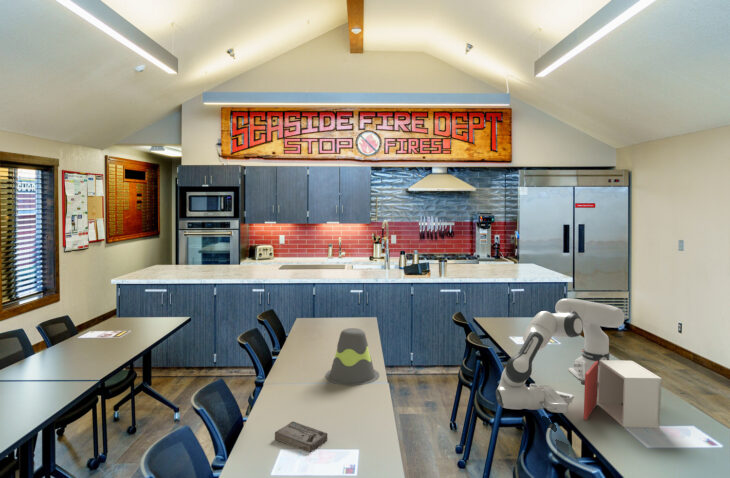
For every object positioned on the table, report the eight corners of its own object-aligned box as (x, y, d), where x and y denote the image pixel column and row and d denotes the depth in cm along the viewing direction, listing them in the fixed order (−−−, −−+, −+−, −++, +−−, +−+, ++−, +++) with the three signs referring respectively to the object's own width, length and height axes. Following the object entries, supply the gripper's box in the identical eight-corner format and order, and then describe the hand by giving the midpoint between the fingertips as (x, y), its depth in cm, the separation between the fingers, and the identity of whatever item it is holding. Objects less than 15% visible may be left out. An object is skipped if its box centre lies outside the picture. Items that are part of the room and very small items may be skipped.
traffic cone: (390, 378, 241) (390, 331, 239) (343, 389, 225) (343, 340, 223) (360, 363, 263) (360, 321, 262) (315, 373, 248) (315, 328, 246)
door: (590, 401, 210) (592, 360, 209) (596, 403, 209) (598, 361, 208) (579, 418, 194) (580, 372, 192) (586, 419, 192) (587, 374, 191)
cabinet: (598, 404, 209) (599, 360, 208) (630, 404, 208) (631, 360, 207) (623, 427, 187) (625, 377, 186) (659, 427, 186) (661, 378, 185)
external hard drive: (547, 402, 212) (554, 393, 222) (566, 406, 207) (573, 398, 217) (547, 398, 212) (555, 390, 222) (566, 403, 207) (573, 394, 217)
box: (292, 428, 184) (292, 420, 184) (328, 440, 175) (328, 432, 175) (273, 440, 175) (273, 432, 175) (310, 454, 166) (310, 445, 166)
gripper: (545, 401, 184) (581, 401, 184) (529, 382, 205) (561, 382, 204) (545, 416, 185) (581, 417, 184) (529, 396, 205) (561, 396, 205)
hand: (570, 399), depth 194 cm, fingers closed
